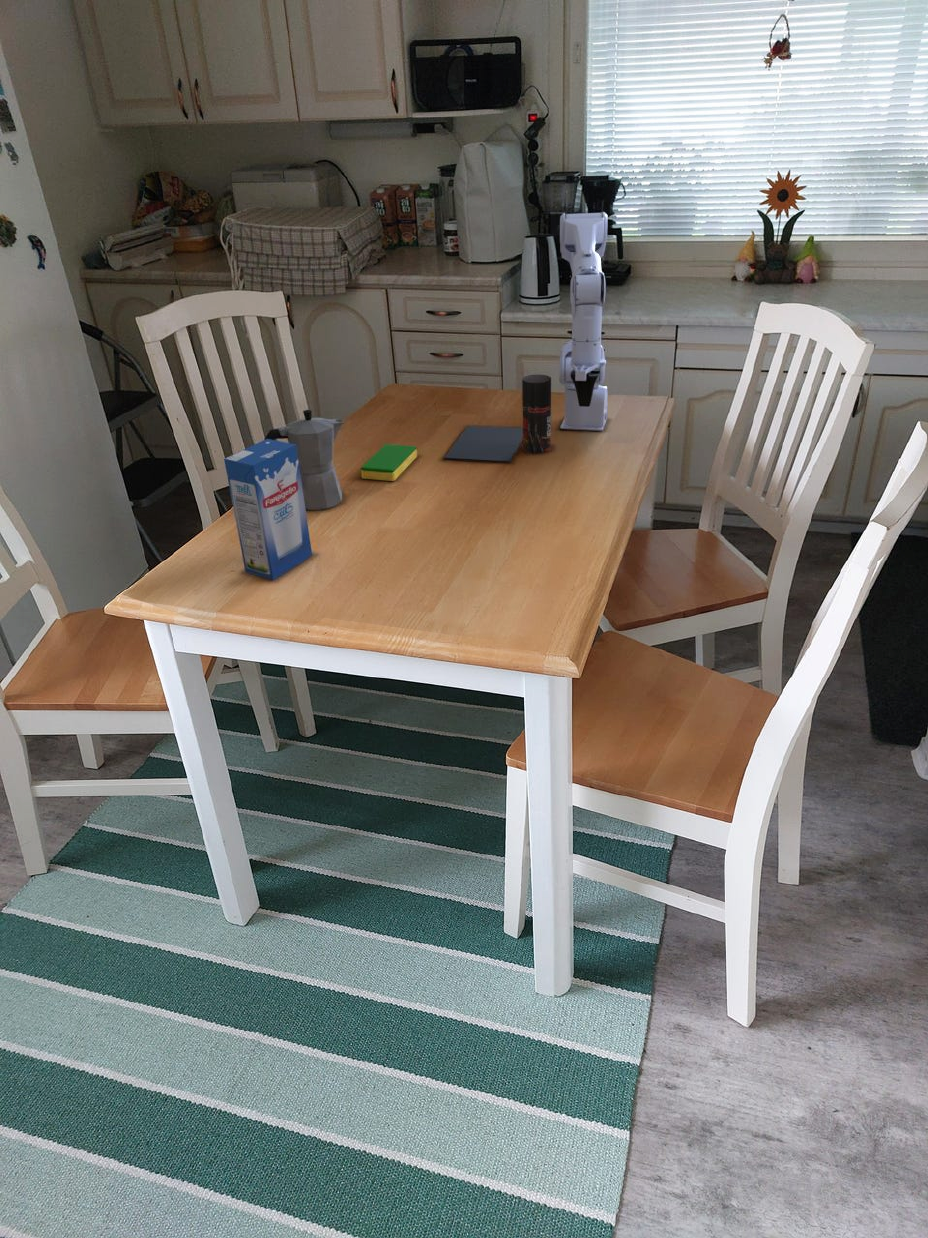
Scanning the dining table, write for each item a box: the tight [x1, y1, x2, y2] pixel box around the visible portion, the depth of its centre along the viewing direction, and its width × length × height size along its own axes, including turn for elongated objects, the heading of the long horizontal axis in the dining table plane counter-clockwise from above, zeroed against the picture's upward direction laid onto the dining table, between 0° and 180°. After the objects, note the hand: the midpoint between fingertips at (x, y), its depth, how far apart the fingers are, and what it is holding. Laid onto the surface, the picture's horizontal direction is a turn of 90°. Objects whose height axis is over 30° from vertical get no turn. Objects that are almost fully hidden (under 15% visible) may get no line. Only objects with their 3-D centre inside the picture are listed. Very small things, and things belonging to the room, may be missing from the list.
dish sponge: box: [360, 443, 418, 482], centre depth 189 cm, size 7×14×2 cm, turn 162°
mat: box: [443, 424, 523, 464], centre depth 199 cm, size 14×20×1 cm
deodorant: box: [521, 374, 552, 454], centre depth 192 cm, size 6×6×15 cm
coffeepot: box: [263, 409, 345, 511], centre depth 172 cm, size 15×9×18 cm, turn 116°
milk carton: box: [223, 438, 313, 581], centre depth 150 cm, size 10×6×20 cm, turn 148°
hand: (584, 405), depth 188 cm, fingers closed
